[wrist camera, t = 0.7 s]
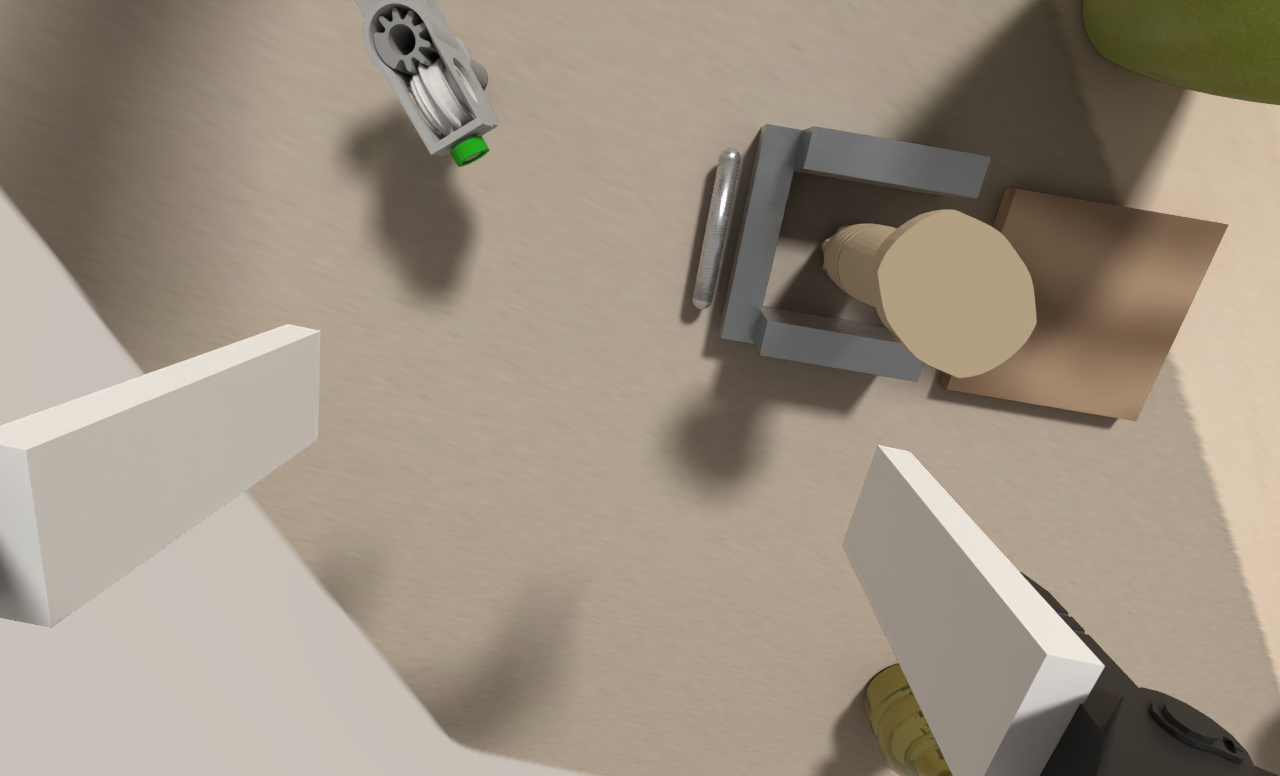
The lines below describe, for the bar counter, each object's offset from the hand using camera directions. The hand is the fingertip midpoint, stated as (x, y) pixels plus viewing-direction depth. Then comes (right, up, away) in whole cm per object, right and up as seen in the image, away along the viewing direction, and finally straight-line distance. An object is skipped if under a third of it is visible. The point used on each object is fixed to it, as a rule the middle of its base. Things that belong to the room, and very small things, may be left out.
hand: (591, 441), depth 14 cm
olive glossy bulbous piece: (+22, -23, +33) cm, 46 cm away
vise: (+11, +10, +22) cm, 27 cm away
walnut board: (+27, +6, +22) cm, 36 cm away
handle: (+14, +9, +22) cm, 28 cm away
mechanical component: (-8, +19, +20) cm, 29 cm away
